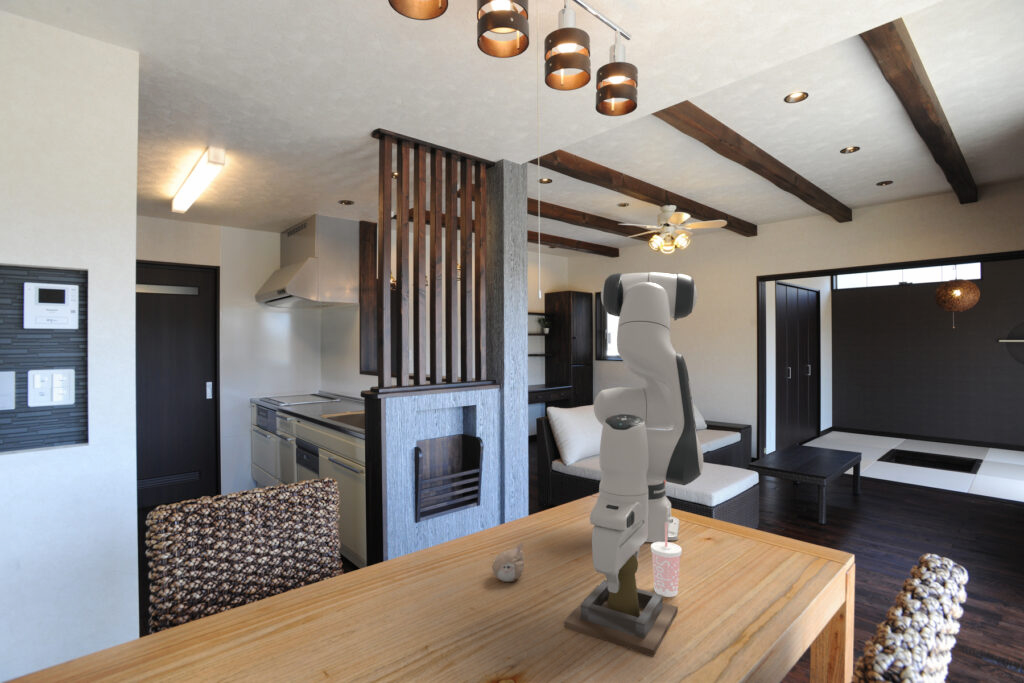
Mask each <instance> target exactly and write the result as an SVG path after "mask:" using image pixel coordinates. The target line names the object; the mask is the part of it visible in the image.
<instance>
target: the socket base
mask: <svg viewBox="0 0 1024 683" xmlns="http://www.w3.org/2000/svg"><path fill="white" fill-rule="evenodd" d="M637 595H638V603H639V611H640V616H639V617H635V616H631V615H628V614H625V613H621V612H618V611H615V610H611V609H608V608H607V604H608V597H609V591H608V581H607V579H603V581H601V582H600V584H597V585H596V586H595V587H594V588H593V589H592V590H591V591H590V592H589V594H588V595H587V596H586V597H585V598H584V599H583V600H582V601H581V602H580V603H579V605H578V606H576V608H575V609H573V611H572V612H571V613H570V614H569V615H568V616H567V617H566V619H564V620H563V627H565V628H567V629H571V630H574V631H576V632H579V633H582V634H584V635H588V636H591V637H595V638H597V639H600V640H604V641H605V642H609V643H612V644H615V645H618V646H621V647H624V648H628V649H630V650H633V651H636V652H639V653H642V654H645V655H648V656H651V657H655V655H656V653H657V651H658V649H659V647H660V646H661V643H662V642H663V640H664V638H665V637H666V634H667V632H668V631H669V630H670V627H671V626H672V624H673V621H674V620H675V618H676V616H677V614H678V611H679V610H678V609H679V608H678V607H679V606H676V605H673V604H669V603H666V602H664V596H663V595H660V594H657V593H656V592H652V591H648V590H645V589H640V588H638V587H637Z"/></svg>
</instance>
